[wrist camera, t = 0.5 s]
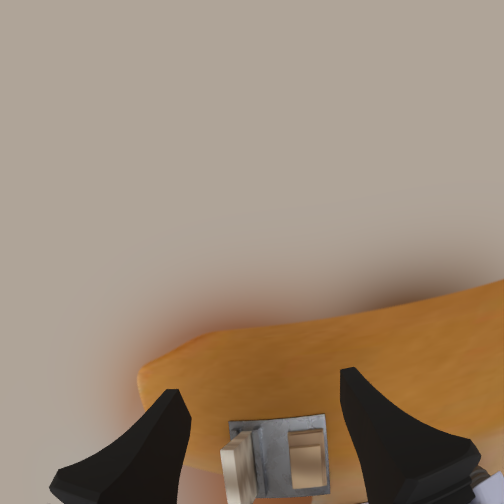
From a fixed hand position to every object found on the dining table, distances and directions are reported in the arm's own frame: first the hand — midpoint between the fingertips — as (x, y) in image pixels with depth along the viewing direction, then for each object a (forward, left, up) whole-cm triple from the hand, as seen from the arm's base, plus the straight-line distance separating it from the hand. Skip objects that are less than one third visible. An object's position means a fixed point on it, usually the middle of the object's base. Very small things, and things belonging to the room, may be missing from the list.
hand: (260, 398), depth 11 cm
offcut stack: (-13, 0, -26) cm, 29 cm away
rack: (-13, +4, -26) cm, 30 cm away
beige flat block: (-13, +8, -26) cm, 30 cm away
